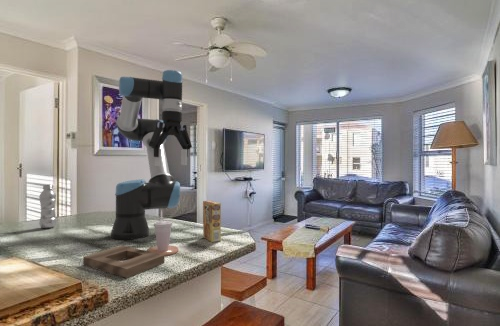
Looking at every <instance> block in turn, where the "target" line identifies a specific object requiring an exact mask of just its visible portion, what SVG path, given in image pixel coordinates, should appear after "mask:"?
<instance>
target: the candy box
mask: <svg viewBox="0 0 500 326" xmlns="http://www.w3.org/2000/svg"><path fill="white" fill-rule="evenodd" d="M221 205H222V203H221V202H218V201H214V200H203V201H202V211H203V212H202V229H203V230H202V233H203V235H202V236H203V238H204V239H206V240H207V241H210V242H211V243H216V242H221V241H222V240H221V239H222V236H221V234H222V231H221V230H222V228H221V227H222V225H221V222H222V218H221V217H222V215H221V208H222V207H221Z"/></svg>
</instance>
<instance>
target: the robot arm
mask: <svg viewBox="0 0 500 326" xmlns="http://www.w3.org/2000/svg"><path fill="white" fill-rule="evenodd" d="M161 79H162V80H157V79H156V80H155V79H148V78H147V79H146V78H140V77H133V76H121V77H119V79H118V80H119V82H118V93H119V95H120V96H122V101H121V106H120V113H119V116H117V118H116V129H117V130H118V133H120V134H121V135H122V136H123V137H124V138H125V139H128V140H129V141H134V142H142V144H143V145H144V146H145V148H146V152H147V159H148V160H147V161H148V166H149V173H150V179H148V182H146V180H145V179H144V178H143V179H131V180H125V181H121V182H119V183H117V184H116V186H115V194H114V196H115V219H114V222H113V225H112V229H111V230H110V238H111V239H113V240H120V241H121V240H123V241H125V240H137V239H142V238H145V237H147V236H149V235H150V226H149V225H148V222H147V221H148V220H147V218H146V210H147V211H148V210H162V209H167V210H168V209H173V208H176V207H177V206H179V203H180V197H181V184H180V182H179V181H177V180H176V181H175V178H174V176H173V175H171V172H170V170H169V169H170V168H169V164H168V163H169V162H168V159H167V153H166V149H165V144H166V142H167V141H168V140H169V139H168V138H169V136H174V137H175V138H176V140H177V141H178V143H179V144H180V146H181V148H182V149H181V150H180V166H188V157H189V150H190V149H191V148H192V146H193V145H192V143H191V140H190V136H189V133H188V130H187V128H188V127H187V125H186V124H181V122H183V112H182V111H183V82H184V81H183V74H182V72H181V71H179V70H175V69H174V70H173V69H168V70H164V71H162V77H161ZM143 99H151V100H152V99H154V100H160V101H162V102H161V105H162V106H161V110H162V112H161V119H158V118H157V119H149V118H138V116H139V112H140V108H141V104H142V102H143V101H142V100H143Z"/></svg>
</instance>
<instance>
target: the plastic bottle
mask: <svg viewBox="0 0 500 326" xmlns="http://www.w3.org/2000/svg"><path fill="white" fill-rule="evenodd" d="M53 186H54V184H43V186H42V189H43V190H42V191H41V192H40V194H39V196H38V198H39V199H38V200H39V203H40V217H39V218H40V219H39V227H40V228H42V229H51V228H55V227H56V226H57V223H58V222H57V221H58V220H57V216H56V201H57V194H56V192H55V191H54V187H53Z"/></svg>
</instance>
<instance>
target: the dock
mask: <svg viewBox="0 0 500 326" xmlns="http://www.w3.org/2000/svg"><path fill="white" fill-rule="evenodd" d="M82 259H83V260H82V261H83V263H82V264H84V265H83V266H86V265H87V267H89V266H90V267H89V268H92V267H93V269H96V270H99V271H101V272H106V273H109V274H111V275H112V274H113V275H115V276H119V277H123V278H126V279H128V278H131V277H133V276H135V275H137V274H140V273H143V272H145V271H148V270H151V269H153V268H155V267H158V266H160V265H163V264H165V256H164V255H162V254H158V253H153V252H149V251H146V250H144V249H139V248H136V247H131V246H126V245H122V244H121V245H119V246H116V247H115V246H114V247H112V248H108V249H105V250H102V251H99V252H95V253H94V252H93V253H92V254H88V255H84V256H83V258H82ZM125 259H127V260H125Z"/></svg>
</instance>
